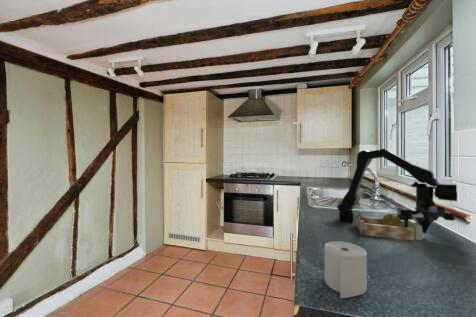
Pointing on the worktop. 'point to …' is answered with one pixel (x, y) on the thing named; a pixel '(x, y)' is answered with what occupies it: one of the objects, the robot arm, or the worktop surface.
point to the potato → (391, 220)
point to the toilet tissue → (346, 268)
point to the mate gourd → (405, 219)
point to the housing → (383, 228)
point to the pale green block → (415, 229)
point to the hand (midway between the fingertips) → (423, 232)
